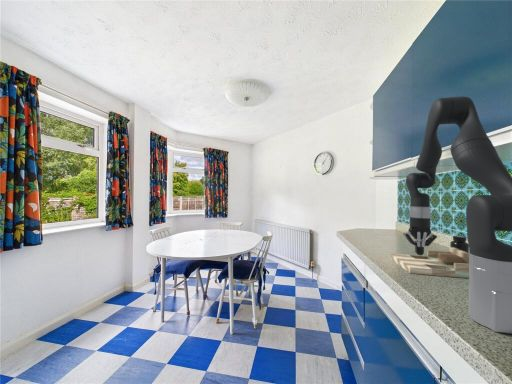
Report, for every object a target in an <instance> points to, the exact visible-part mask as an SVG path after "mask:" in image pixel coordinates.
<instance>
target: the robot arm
mask: <svg viewBox="0 0 512 384" xmlns="http://www.w3.org/2000/svg"><path fill="white" fill-rule="evenodd" d="M454 124H455V125H457V126H458V127H459V130H460V131H459V133H458V134H457V135H456V137H455V138H454V140H453V142H452V143H451V146H450V154H451V157H452V159H453V162H454V164H455V166H456V168H457V169H458V170H459V171H460V172H462V173H463V174H464V175H465V176H467V177H469V178H470V179H472V180H473V181H475V182H477V183H479V184H480V185H482V186H483V187H484V188H485V189H486V190H487V192H488V193H489V194H477V195H474V196H472V197H470V198H469V200H468V201H467V203H466V209H465V215H466V216H465V217H466V218H465V219H466V235H467V236H466V240H467V243H468V244H469V278H468V317H469V318H470V319H471V320H472V321H474V322H476V323H477V324H479V325H482V326H483V327H486V328H488V329H490V330H492V331H493V332H495V333H496V332H497V333H504V334H510V335H512V245H511V244H508V243H505V242H503V241H500V240H499V239H497V236H496V231H498V232H500V231H501V232H512V176H511V174H510V172H509V170H508V169H507V168H506V166H505V164H504V163H503V161H502V159H501V158H500V156H499V154H498V151H497V150H496V148H495V145H494V144H493V142H492V141H491V139H490V138H489V136H488V134H487V132H486V130H485V129H484V127H483V125H482V123H481V120H480V118H479V115H478V111H477V109H476V106H475V103H474V101H473V100H472V99H471V97H468V96H450V97H441V98H438V99H435V101H434V102H433V103H432V105H431V107H430V109H429V112H428V116H427V121H426V125H425V131H424V137H423V142H422V147H421V150H420V154H419V156H418V159H417V161H416V164H415V168H416V169H417V170H418V171H420V172H410V173H409V174H408V175H407V176H406V178H405V184H406V186H407V189H408V193H409V197H410V202H409V203H410V207H409V228H408V231H407V232H404V233H402V235H403V236H404V238H406V240H407V241H408V243H409V244H411V245H414V252H415V253H416V255H417V256H424V254H425V247H429V246H430V245H431V244H432V243H433V242H434V241H435V240H436V239H437V237H438V235H435V234H434V233H432V230H431V216H432V215H431V196H430V195H429V194H427V193H425V192H424V193H422V192H420V191H419V189H431V188H432V187H433V186H435V184H436V174H437V173H436V172H437V167H438V164H440V163H439V162H440V160H441V158H442V154H443V148H442V146H441V145H442V144H441V143H440V140H439V137H438V130H439V129H438V128H439V127H440V125H454Z"/></svg>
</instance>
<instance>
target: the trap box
mask: <svg viewBox="0 0 512 384" xmlns="http://www.w3.org/2000/svg"><path fill="white" fill-rule="evenodd" d="M438 253H448V254H455V255H458V256H460V257H462V258H463V263H454V265H446V264H444V263H442V262H440V261H438ZM390 259H391V260H392V261H393V262H395V263H396V264H397V265H398V266H400V267H401V268H402V269H404V270H405V271H406V272H408V273H409V274H413V275H427V276H439V277H450V278H460V279H462V278H463V279H469V253H467V252H464V251H461V250H459V249H456V248H452V247H450V246H449V251H447V250H429V249H428V250H427V251H426V255H417V254H416V255H415V254H403V253H398V254H397V253H390Z"/></svg>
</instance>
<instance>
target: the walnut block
mask: <svg viewBox="0 0 512 384" xmlns="http://www.w3.org/2000/svg"><path fill="white" fill-rule="evenodd" d="M438 261H440V262H442V263H444V264H446V265H454V263H463V258H462V257H460V256H458V255H455V254H448V253H438Z"/></svg>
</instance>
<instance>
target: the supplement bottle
mask: <svg viewBox="0 0 512 384" xmlns="http://www.w3.org/2000/svg"><path fill="white" fill-rule="evenodd" d="M450 247H452V248H456V249H459V250H461V251H464V252H467V253H469V244H468V241H467V236H464V235H463V236H462V235H453V236H452V241H450V245H449V248H450Z"/></svg>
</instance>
